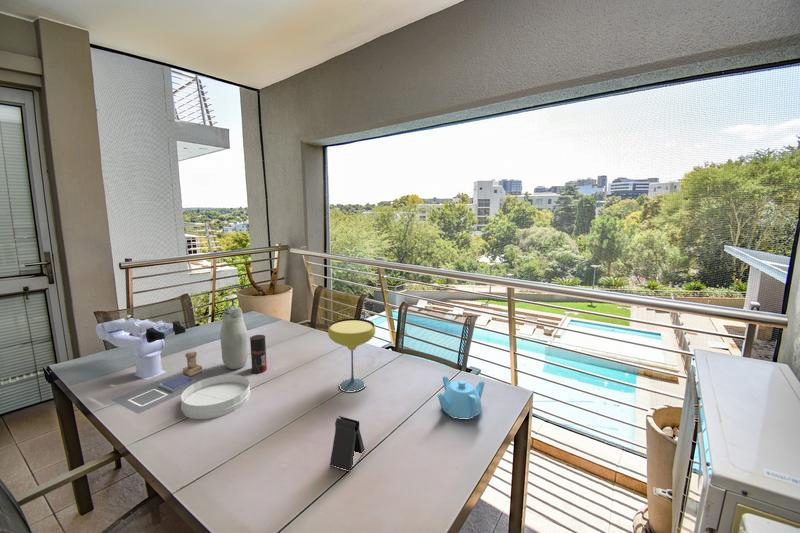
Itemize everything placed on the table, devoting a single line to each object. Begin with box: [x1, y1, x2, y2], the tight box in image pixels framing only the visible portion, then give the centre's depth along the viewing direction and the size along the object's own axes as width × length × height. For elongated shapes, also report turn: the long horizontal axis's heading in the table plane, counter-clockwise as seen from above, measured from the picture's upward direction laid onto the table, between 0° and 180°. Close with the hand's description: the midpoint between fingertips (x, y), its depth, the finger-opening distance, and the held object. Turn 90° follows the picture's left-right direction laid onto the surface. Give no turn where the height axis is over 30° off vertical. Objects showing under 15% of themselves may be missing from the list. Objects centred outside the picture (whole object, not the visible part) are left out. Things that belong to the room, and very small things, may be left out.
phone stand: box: [329, 415, 366, 470], centre depth 95 cm, size 9×6×12 cm, turn 158°
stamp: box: [182, 351, 203, 377], centre depth 142 cm, size 5×5×9 cm
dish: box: [180, 374, 251, 420], centre depth 123 cm, size 22×22×5 cm
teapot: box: [437, 375, 486, 418], centre depth 119 cm, size 15×15×11 cm
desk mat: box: [111, 369, 220, 414], centre depth 132 cm, size 18×30×1 cm, turn 153°
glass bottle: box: [219, 305, 249, 370], centre depth 148 cm, size 10×10×28 cm
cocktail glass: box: [327, 318, 376, 391], centre depth 133 cm, size 18×18×25 cm
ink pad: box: [159, 375, 196, 393], centre depth 133 cm, size 9×9×2 cm
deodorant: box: [249, 334, 268, 374], centre depth 146 cm, size 6×6×15 cm
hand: (174, 333), depth 131 cm, fingers open, 7 cm apart
